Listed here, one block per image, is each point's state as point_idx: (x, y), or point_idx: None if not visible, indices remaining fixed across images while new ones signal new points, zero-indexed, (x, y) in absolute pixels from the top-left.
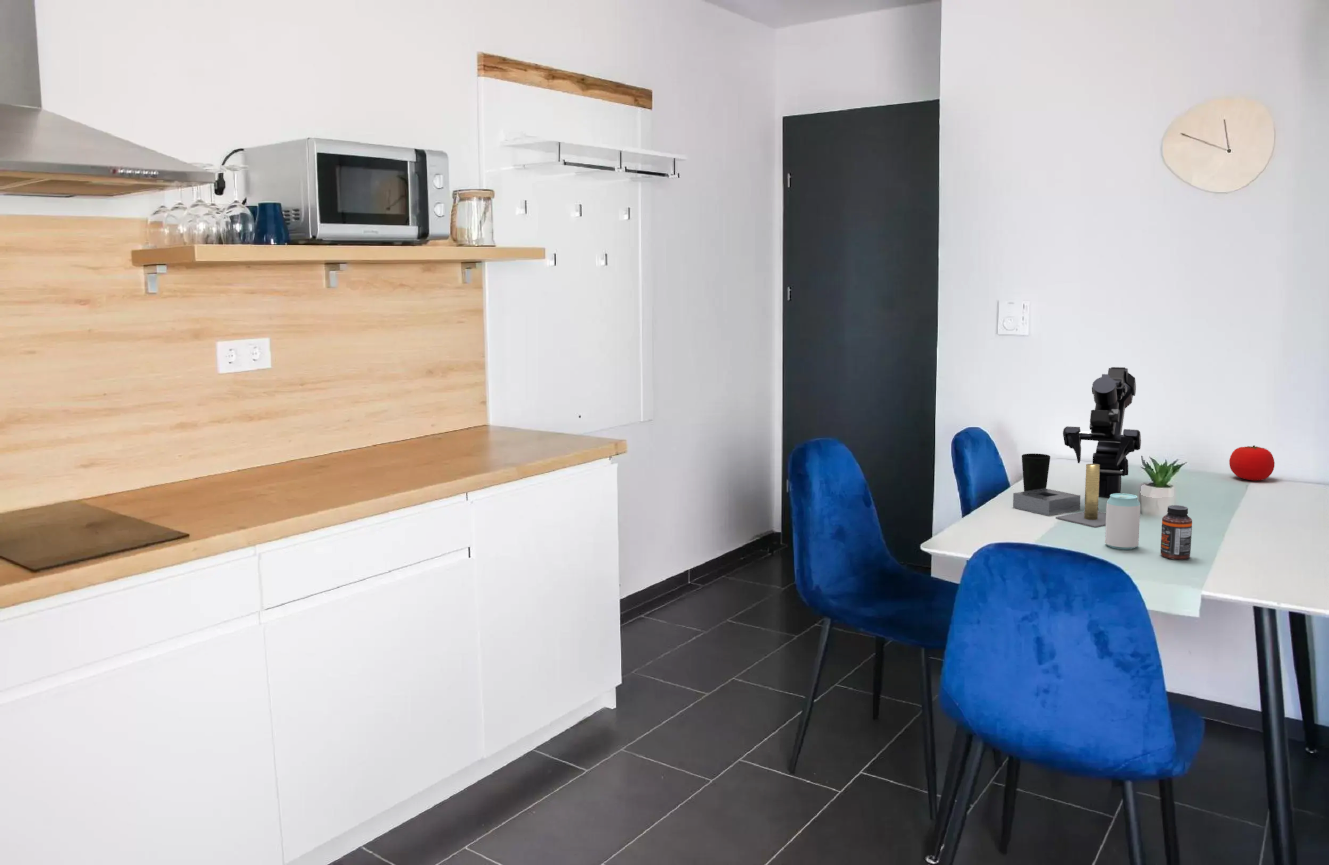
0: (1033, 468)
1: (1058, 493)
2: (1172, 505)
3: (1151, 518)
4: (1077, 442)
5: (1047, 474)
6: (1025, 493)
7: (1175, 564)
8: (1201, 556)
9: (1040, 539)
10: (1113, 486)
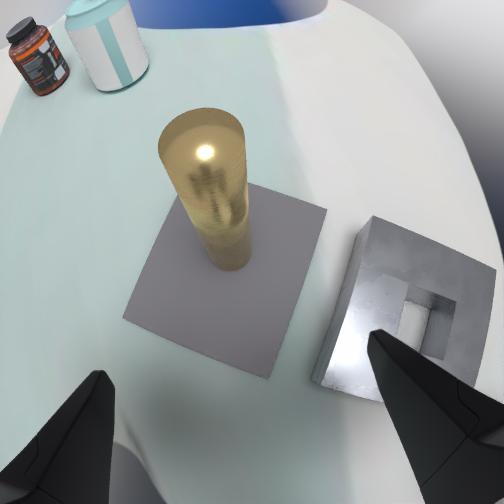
0: None
1: None
2: (22, 26)
3: (88, 374)
4: (493, 431)
5: None
6: (476, 290)
7: None
8: (21, 106)
9: (264, 42)
10: None
